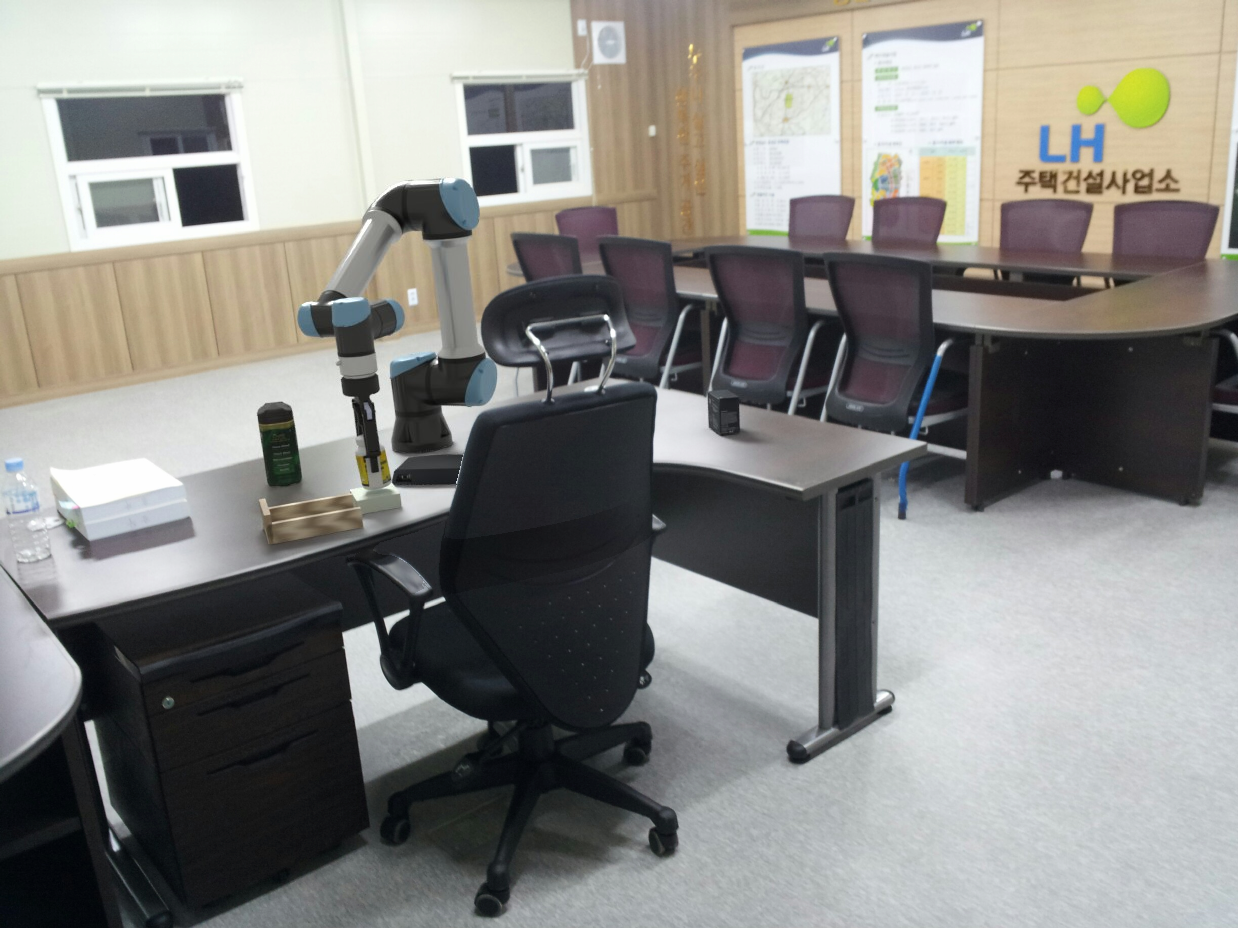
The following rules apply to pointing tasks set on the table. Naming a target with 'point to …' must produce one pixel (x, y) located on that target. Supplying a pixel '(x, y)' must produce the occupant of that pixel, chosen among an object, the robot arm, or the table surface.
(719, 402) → the box
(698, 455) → the table surface
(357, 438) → the pill bottle
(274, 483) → the coffee jar
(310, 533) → the tray
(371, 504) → the stand
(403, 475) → the external hard drive
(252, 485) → the table surface
